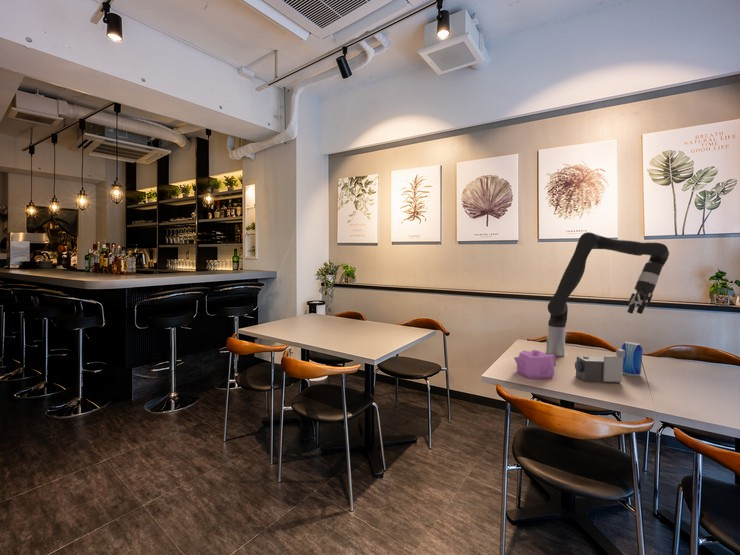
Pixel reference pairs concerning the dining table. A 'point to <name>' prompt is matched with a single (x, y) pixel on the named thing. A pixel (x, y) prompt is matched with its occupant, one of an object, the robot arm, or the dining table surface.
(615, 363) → the side door
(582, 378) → the camera body
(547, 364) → the teakettle
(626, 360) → the beer can
